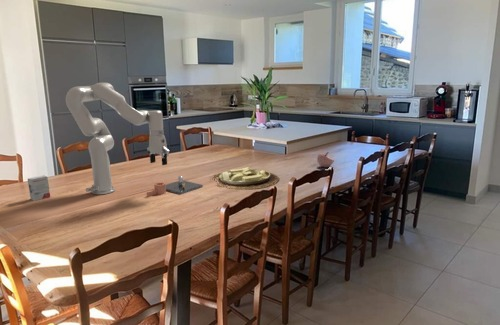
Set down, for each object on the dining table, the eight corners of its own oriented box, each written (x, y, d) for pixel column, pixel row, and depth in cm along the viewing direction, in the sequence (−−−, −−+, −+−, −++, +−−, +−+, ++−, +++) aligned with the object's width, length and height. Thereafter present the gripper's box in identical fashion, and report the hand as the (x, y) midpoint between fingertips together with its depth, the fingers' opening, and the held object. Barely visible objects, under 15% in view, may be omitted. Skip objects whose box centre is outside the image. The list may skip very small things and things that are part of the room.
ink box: (46, 195, 205) (44, 174, 202) (50, 197, 202) (48, 176, 199) (30, 199, 199) (27, 178, 196) (33, 201, 196) (30, 179, 193)
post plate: (180, 194, 206) (179, 182, 204) (159, 188, 216) (158, 177, 215) (202, 186, 220) (202, 175, 219) (181, 181, 230) (181, 171, 229)
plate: (291, 176, 244) (291, 166, 242) (257, 197, 207) (257, 185, 205) (234, 168, 266) (233, 159, 265) (194, 185, 229) (194, 175, 227)
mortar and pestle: (335, 169, 261) (335, 153, 259) (318, 169, 262) (318, 153, 259) (331, 165, 273) (332, 150, 270) (315, 165, 273) (316, 150, 271)
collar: (151, 197, 201) (150, 188, 200) (144, 195, 204) (143, 186, 203) (168, 191, 210) (167, 183, 209) (161, 190, 214) (160, 181, 213)
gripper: (172, 133, 201) (174, 164, 204) (151, 131, 210) (153, 160, 214) (161, 135, 195) (164, 166, 198) (140, 132, 205) (143, 163, 208)
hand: (158, 163), depth 206 cm, fingers open, 9 cm apart
